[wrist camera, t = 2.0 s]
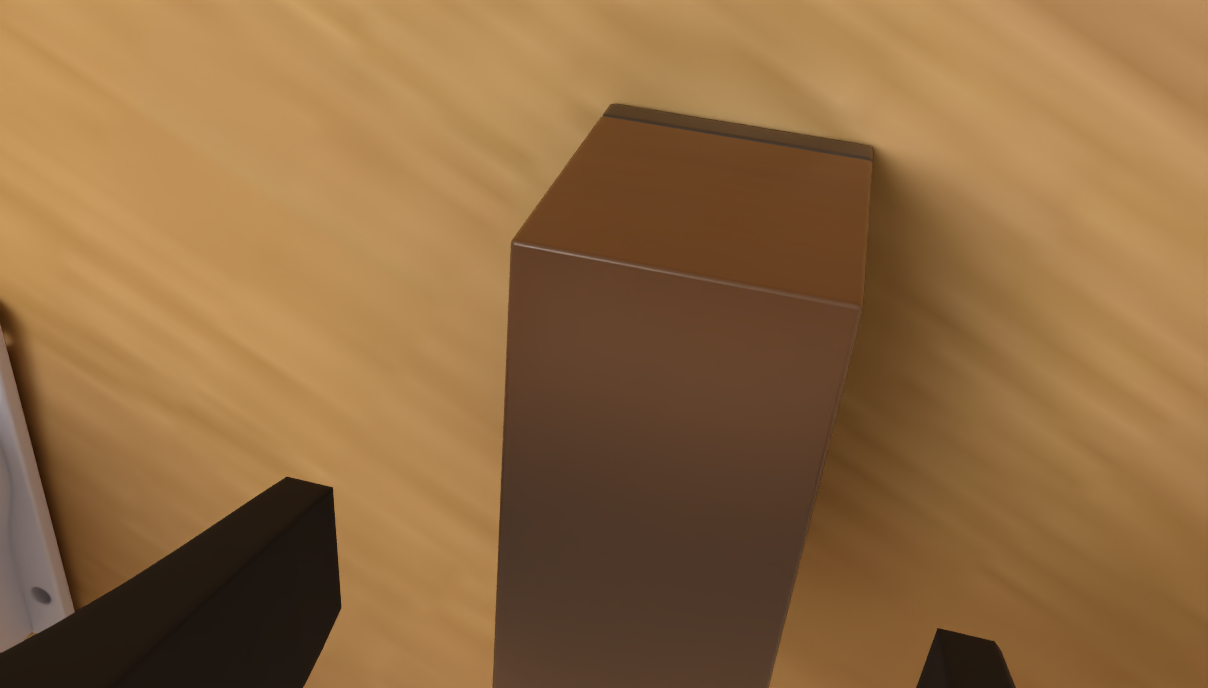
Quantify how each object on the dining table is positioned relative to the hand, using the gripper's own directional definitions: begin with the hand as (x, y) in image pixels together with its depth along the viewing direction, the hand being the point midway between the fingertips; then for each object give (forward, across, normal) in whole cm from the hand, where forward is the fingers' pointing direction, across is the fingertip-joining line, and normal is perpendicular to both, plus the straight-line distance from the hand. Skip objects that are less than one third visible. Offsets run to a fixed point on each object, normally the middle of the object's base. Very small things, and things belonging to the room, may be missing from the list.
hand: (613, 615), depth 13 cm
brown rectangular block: (+7, 0, 0) cm, 7 cm away
